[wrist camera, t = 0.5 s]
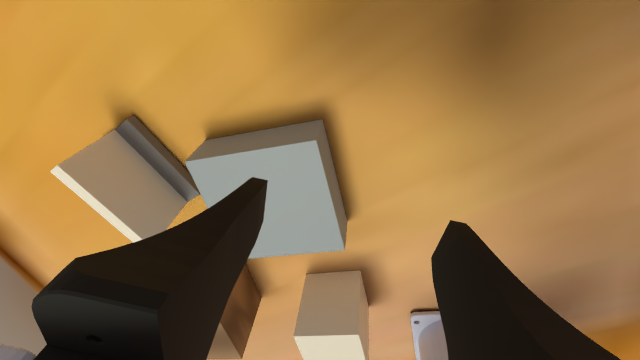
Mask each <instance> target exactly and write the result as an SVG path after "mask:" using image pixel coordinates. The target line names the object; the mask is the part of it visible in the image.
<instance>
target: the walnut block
mask: <svg viewBox="0 0 640 360" xmlns="http://www.w3.org/2000/svg"><path fill="white" fill-rule="evenodd" d="M260 301H261V296H260V294H259V292H258V289H257V287H256V285H255V283H254V281H253V279H252V277H251V275H250V272H249V270H248V268H247V266H246V264H245V266H244V268H243V270H242V272H241V274H240V276H239V278H238V280H237V282H236V284H235V286H234V288H233V290H232V292H231V294H230V297H229V299H228V301H227V304H226V307H225V309H224V312H223V315H222V317H221V320H220V323H219V326H218V328H217V331H216V334H215V337H214V339H213V342H212V345H211V348H210V351H209V353H208V356H207V359H242V357H243V354H244V350H245V347H246V344H247V341H248V338H249V335H250V332H251V329H252V326H253V323H254V320H255V316H256V313H257V310H258V307H259V304H260Z"/></svg>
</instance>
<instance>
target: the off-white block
mask: <svg viewBox="0 0 640 360" xmlns="http://www.w3.org/2000/svg"><path fill="white" fill-rule="evenodd" d="M294 338H295V341H296V343H297V345H298V348H299V350H300V352H301V355H302V357H303V359H304V360H369V306H368V302H367V297H366V293H365V289H364V284H363V280H362V276H361V271H360V270H358V271H343V272H329V273H314V274H306V278H305V283H304V288H303V293H302V298H301V303H300V308H299V312H298V317H297V322H296V327H295V332H294Z"/></svg>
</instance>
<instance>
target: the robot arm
mask: <svg viewBox="0 0 640 360" xmlns="http://www.w3.org/2000/svg"><path fill="white" fill-rule="evenodd" d="M267 183H268V180H264V179H260V178H255V177H252V178H250V179H249V180H247V181H246V182H245V183H243V184H242V185H241V186H240V187H238V188H237V189H236V190H234V191H233V192H232V193H230V194H229V195H227V196H226V197H225V198H223V199H222V200H220V201H219V202H217V203H216V204H214V205H213V206H211V207H210V208H208V209H206V210H205V211H203V212H202V213H200V214H198V215H196V216H195V217H193V218H191V219H189V220H187V221H185V222H183V223H181V224H179V225H177V226H175V227H173V228H170V229H168V230H165V231H163V232H161V233H158V234H156V235H153V236H151V237H148V238H145V239H143V240H140V241H137V242H134V243H131V244H127V245H124V246H121V247H118V248H114V249H111V250H107V251H103V252H99V253H95V254H91V255H87V256H82V257H78V258H75V259H74V260H73V261H72V262H71V263H70V264H69V265H67V266H66V267H65V268H64V269H63V270H62V271H61V272H60V273H59V274H58V275H57V276H56V277H55V278H54V279H53V280H52V281H51V282H50V283H49V284H48V285H47V286H46V287H45V288H44V289H43V290H42V291H41V292H40V293H39V294H38V295H37V296H36V297H35V298H34V299H33V303H32V311H33V314H34V318H35V320H36V322H37V324H38V326H39V328H40V330H41V332H42V334H43V336H44V339H45V341H46V343H47V345H46V346H45V348H44V349H43V350H42V351H41V352H40V353H39V354H38V355H37V357H36V356H35V355H34V354H33V353H31V352H30V351H27V350H25V349H22V348H18V347H13V346H8V345H4V344H0V360H206V359H207V356H208V353H209V351H210V348H211V345H212V342H213V339H214V337H215V334H216V331H217V328H218V326H219V323H220V320H221V317H222V315H223V312H224V309H225V307H226V304H227V301H228V299H229V297H230V294H231V292H232V290H233V288H234V286H235V284H236V282H237V280H238V278H239V276H240V274H241V272H242V270H243V268H244V266H245V264H246V262H247V260H248V257H249V255H250V253H251V251H252V249H253V247H254V245H255V243H256V241H257V238H258V235H259V232H260V229H261V226H262V223H263V220H264V211H265V202H266V192H267ZM431 259H432V275H433V283H434V288H435V293H436V298H437V302H438V307H439V311H428V312H413V313H411V314H410V319H411V326H412V333H413V340H414V348H415V355H416V360H621V359H619V358H618V357H616V356H615V355H613V354H612V353H610V352H609V351H607V350H606V349H604V348H603V347H601V346H600V345H598V344H597V343H595V342H594V341H593V340H591V339H590V338H588V337H587V336H586V335H584V334H583V333H582V332H580V331H579V330H578V329H576V328H575V327H574V326H572V325H571V324H570V323H568V322H567V321H566V320H564V319H563V318H562V317H561V316H559V315H558V314H557V313H556V312H554V311H553V310H552V309H551V308H550V307H549V306H547V305H546V304H545V303H544V302H543V301H542V300H540V299H539V298H538V297H537V296H536V295H535V294H534V293H533V292H531V291H530V290H529V289H528V288H527V287H526V286H525V285H524V284H523V283H522V282H521V281H520V280H519V279H518V278H517V277H516V276H515V275H514V274H513V273H512V272H511V271H510V270H509V269H508V268H507V267H506V266H505V265H504V264H503V263H502V262H501V261H500V260H499V258H498V257H497V256H496V255H495V254H494V253H493V252H492V251H491V250H490V249H489V248H488V246H487V245H486V244H485V243H484V242H483V241H482V240H481V239H480V238H479V236H478V235H477V234H476V233H475V232H474V231H473V230H472V229H471V228H470V227H469V226H468V225H467V224H466V223H461V222H457V221H452V220H450V222H449V224H448V226H447V228H446V230H445V232H444V234H443V236H442V238H441V240H440V242H439V244H438V246H437V248H436V249H435V251H434V253H433V255H432V257H431Z"/></svg>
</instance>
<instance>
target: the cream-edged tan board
mask: <svg viewBox="0 0 640 360" xmlns="http://www.w3.org/2000/svg"><path fill="white" fill-rule="evenodd" d="M50 172H51V173H52V174H53V175H55V176H56V177H57V178H58V179H59V180H61V181H62V182H63V183H64V184H65V185H66V186H68V187H69V188H70V189H71V190H72V191H73V192H75V193H76V194H77V195H78V196H79V197H80V198H82V199H83V200H84V201H85V202H86V203H87V204H89V205H90V206H91V207H92V208H93V209H95V210H96V211H97V212H98V213H99V214H100V215H102V216H103V217H104V218H105V219H106V220H107V221H109V222H110V223H111V224H112V225H113V226H114V227H116V228H117V229H118V230H119V231H120V232H121V233H123V234H124V235H125V236H126V237H127V238H129V239H130V240H131V241H132V242H133V243H134V242H137V241H140V240H143V239H145V238H148V237H151V236H153V235H156V234H158V233H161V232H163V231H165V230H166V229H167V228H168V226H169V225H170V224H171V222H172V221H173V220H174V219H175V217H176V216H177V215H178V214H179V212H180V211H181V210H182V208H183V207H184V206H185V205H186V203H187V202H188V201H190V200H192V199H193V198H195V197H197V196H198V195H200V192H199V190H198V188H197V186H196V184H195V182H194V180H193V178H192V176H191V174H190V173H189V172H188V171H187V170H186V169H185V168H184V167H183V166H182V165H181V164H180V163H179V162H178V161H177V160H176V158H175V157H174V156H173V155H172V154H171V153H170V152H169V151H168V150H167V149H166V148H165V147H164V146H163V145H162V144H161V143H160V142H159V141H158V140H157V139H156V138H155V137H154V136H153V134H152V133H151V132H150V131H149V130H148V129H147V128H146V127H145V126H144V125H143V124H142V123H141V122H140V121H139V120H138V119H137V118H136V117H135V116H134V115H133V116H132V117H130V118H128V119H127V120H125V121H124V122H123V123H122V124H121V125H120V126H118V127H117V128H116V129H115V130H113V131H112V132H110V133H108V134H107V135H105V136H104V137H102V138H100V139H99V140H97V141H96V142H94V143H92V144H91V145H89V146H87V147H86V148H84V149H83V150H81V151H79V152H78V153H76V154H75V155H73V156H71V157H70V158H68V159H67V160H65V161H63V162H62V163H60V164H59V165H57V166H56V167H55V168H54V169H52V170H51V171H50Z"/></svg>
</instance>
